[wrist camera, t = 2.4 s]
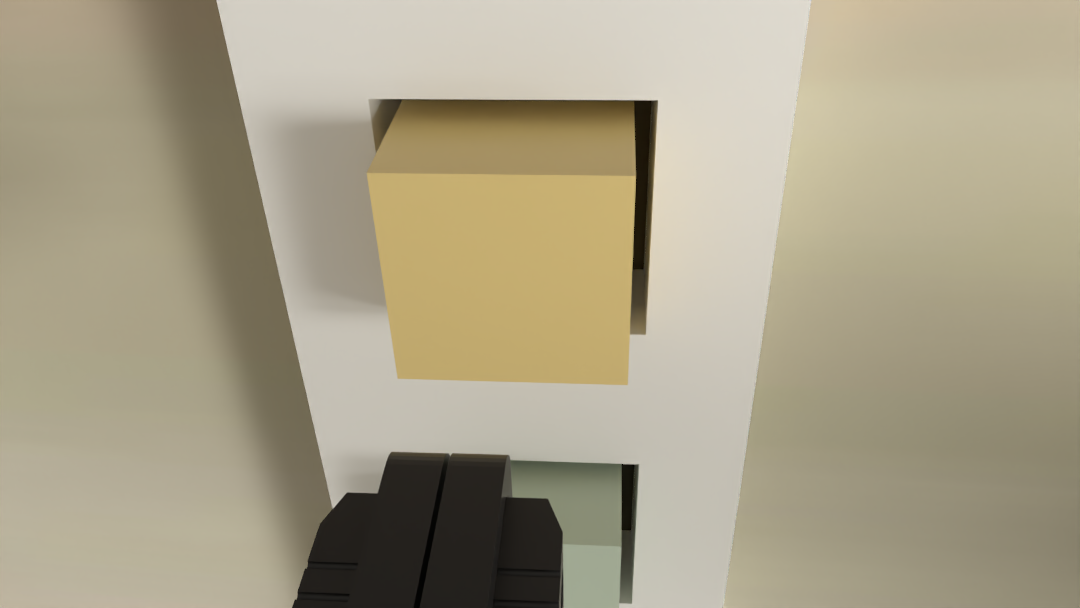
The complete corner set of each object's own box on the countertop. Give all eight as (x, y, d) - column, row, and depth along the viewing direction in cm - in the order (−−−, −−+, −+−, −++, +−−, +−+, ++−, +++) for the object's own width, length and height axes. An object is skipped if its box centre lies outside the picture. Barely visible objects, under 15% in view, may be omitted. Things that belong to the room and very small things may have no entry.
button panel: (793, -80, 17) (825, -29, 14) (681, 802, 35) (685, 894, 33) (256, -74, 17) (191, -26, 15) (423, 787, 36) (408, 875, 33)
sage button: (621, 449, 22) (621, 546, 20) (617, 566, 25) (617, 665, 22) (443, 443, 23) (421, 538, 20) (457, 559, 25) (439, 656, 23)
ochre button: (634, 101, 17) (636, 175, 15) (626, 293, 20) (627, 385, 17) (402, 100, 17) (366, 173, 15) (424, 290, 20) (397, 379, 18)
